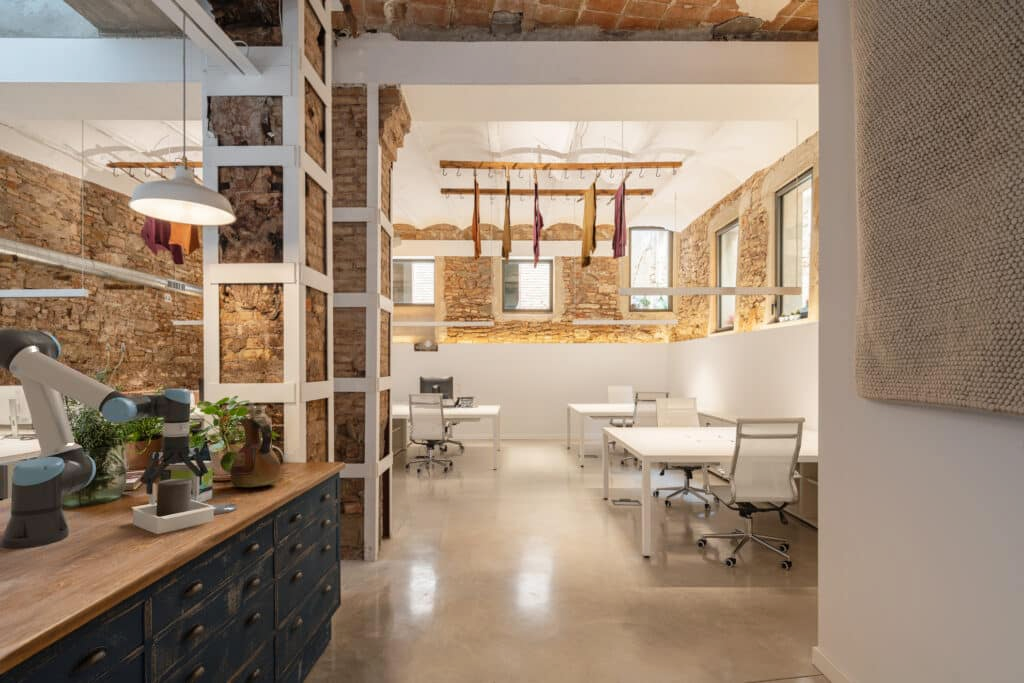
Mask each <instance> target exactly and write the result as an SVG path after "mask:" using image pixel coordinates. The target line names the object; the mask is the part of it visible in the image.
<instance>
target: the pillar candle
mask: <svg viewBox="0 0 1024 683" xmlns="http://www.w3.org/2000/svg"><path fill="white" fill-rule="evenodd" d="M191 482H192V480H189V479H175V477H174V479H171V480H164V481H160V480H159V481H158V482H157V492H156V503H157V508H156V516H158V517H162V516H167V515H172V514H177V513H182V512H186V511H190V505H191Z"/></svg>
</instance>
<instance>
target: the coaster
mask: <svg viewBox="0 0 1024 683" xmlns="http://www.w3.org/2000/svg"><path fill="white" fill-rule="evenodd" d="M210 505H211V506H214V507H215V508H217V509H214V515H215V516H216V515H223V514H228V513H231V512H235V511H236V510H237V509H238V505H237V504H236V503H232V502H220V503H219V502H218V503H212V504H210Z"/></svg>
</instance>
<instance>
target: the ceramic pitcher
mask: <svg viewBox="0 0 1024 683" xmlns="http://www.w3.org/2000/svg"><path fill="white" fill-rule="evenodd" d="M238 422H239V423H240V424H241V425H242V427H243V429H244V430H243V431H244V434H245V442H244V445H243V446H242V447H241V448H240V449H239V450H238V451H237V453H236V454H235V456H234V458H233V460H232V463H231V468H230V474H229V475H230V482H231V485H232V486H234V487H238V488H257V487H265V486H268V485H271V486H272V485H275V484H277V482H278V481H279V480H280V479H281V475H282V467H281V463H280V462H281V461H280V460H279V457H278V456H277V453H276V452H275V451H274V450H273V449H272V448H271V444H272V436H273V434H272V428H271V425H270V423H269V421H267V420H266V418H265V416H261V417H259V416H258V417H257V416H256V417H251V418H242V419H239V420H238ZM261 436H262V437H261Z"/></svg>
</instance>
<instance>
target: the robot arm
mask: <svg viewBox="0 0 1024 683" xmlns="http://www.w3.org/2000/svg"><path fill="white" fill-rule="evenodd" d="M61 352H62V348H61V344H60V342H59V340H57V338H56V337H55V336H53V335H52V334H50V333H48V332H44V331H41V330H36V329H19V328H2V329H0V368H1V369H2V370H5V371H7V372H9V373H11V376H12V377H14V378H16V379H18V380H19V381H20V384H21V387H22V390H23V394H24V398H25V401H26V404H27V407H28V410H29V414H30V417H31V418H30V419H31V421H32V425H33V428H34V432H35V434H36V438H37V441H38V445H39V448H40V451H41V452H40V454H39V455H38V456H37V458H31V459H27V460H24V461H21V462H20V463H17V465H15V466H14V467H13V470H12V476H11V501H10V502H11V504H10V506H11V507H10V518H9V520H8V522H7V524H6V526H5V529H4V531H3V533H2V536H1V545H0V546H1V547H4V548H8V549H9V548H10V549H20V548H31V547H38V546H44V545H47V544H48V545H49V544H51V543H55V542H58V541H62V540H64V539H66V538H67V537H68V536H69V530H70V529H69V525H68V523H67V520H66V518H65V515H64V512H63V498H64V496H65V495H69V494H72V493H75V492H78V491H80V490H82V489H83V488H85V487H86V486H88V485H89V484H90V483H91V482H92V480H93V479H94V477H95V475H96V473H97V470H96V469H97V467H96V463H95V461H94V459H93V458H92V457H91V456H89V455H87V454H85V451H84V447H83V446H82V445H80V444H77V443H76V442H75V438H74V434H73V431H72V428H71V425H70V421H69V417H68V415H67V411H66V407H65V405H64V401H63V398H62V395H61V394H63V395H64V396H67V397H69V398H70V399H73V400H75V401H77V402H79V403H81V404H83V405H85V406H87V407H89V408H91V409H93V410H95V411H97V412H99V413H101V414H102V416H103V418H104V419H105V420H107V421H108V422H109V423H114V424H124V423H127V422H131V421H136V420H140V419H148V418H151V419H153V418H163V431H162V432H163V433H162V434H163V435H164V436H163V437H162V451H161V452H157V451H153V452H152V453H151V457H150V460H149V463H148V464H147V465H146V468H145V469H144V471H143V474H142V475H141V477H140V479H139V483H142V484H145V485H146V487H145V488H146V492H145V493H146V494H147V495H148V504H152V505H155V503H157V492H156V491H157V483H155V482H156V481H157V479H158V478H159V477H160V474H161V473H162V472H163V471H164V469H165V468H166V467H167V466H169V464H176V463H182V462H184V463H185V464H186V465H187V466H188V467H189V468H190V469H191V470H192V471H193V472H194V473H195V474H196V476H193V496H199V486H200V485H201V484H202V476H203V475H204V474H205V473H208V470H207V468H206V466H205V464H204V462H203V461H204V460H203V458H202V456H201V455H200V449H199V447H195V446H193V447H192V448H190V435H189V434H190V424H191V423H190V421H191V419H190V418H191V416H190V415H191V404H192V403H191V402H192V401H191V391H190V390H189V389H188V388H167V389H165V390H164V392H163V394H127V395H125V394H123V393H122V392H120V391H117V390H116V389H114V388H112V387H110V386H108V385H106V384H103V383H102V382H100V381H98V380H96V379H94V378H92V377H90V376H88V375H86V374H84V373H82V372H81V371H78V370H76V369H74V368H72V367H70V366H68V365H67V364H64V363H62V362H60V361H58V360H59V357H60V356H61V354H62V353H61ZM190 454H191V455H192V458H193V460H194V461H196V463H197V465H198V467H199V469H200V470H199V469H198V468H197V467H196V466H195V465H194V464H193V463H192V462H191V461H192V460H191V459H190V458H189V457H188V456H189V455H190ZM161 457H162V458H163V459H162V460H161V461H160V464H158V465H157V463H158V462H159V460H160V459H161ZM156 466H157V467H156ZM155 467H156V468H155Z"/></svg>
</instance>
